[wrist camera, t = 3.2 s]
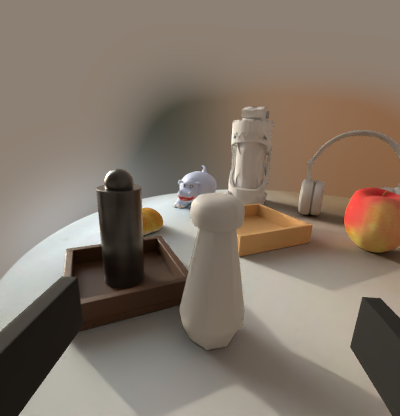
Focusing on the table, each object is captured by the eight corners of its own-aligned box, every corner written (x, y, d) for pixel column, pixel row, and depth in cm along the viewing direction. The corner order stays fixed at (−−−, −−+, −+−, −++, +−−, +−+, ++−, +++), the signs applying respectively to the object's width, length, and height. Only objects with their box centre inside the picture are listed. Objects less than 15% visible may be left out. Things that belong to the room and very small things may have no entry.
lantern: (263, 208, 63) (274, 101, 56) (223, 203, 67) (229, 102, 60) (268, 197, 75) (278, 107, 68) (234, 193, 79) (240, 108, 72)
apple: (325, 242, 44) (336, 186, 41) (359, 234, 48) (371, 183, 45) (384, 268, 36) (402, 200, 33) (419, 256, 40) (438, 195, 37)
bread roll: (171, 227, 49) (171, 207, 47) (133, 242, 42) (132, 219, 41) (142, 218, 53) (142, 200, 52) (104, 229, 46) (103, 209, 45)
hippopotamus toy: (162, 213, 57) (161, 171, 54) (185, 198, 71) (186, 164, 68) (207, 219, 54) (209, 175, 51) (222, 202, 68) (225, 167, 65)
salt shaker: (176, 358, 20) (177, 204, 17) (180, 310, 26) (182, 187, 22) (247, 359, 21) (264, 207, 17) (237, 311, 26) (248, 189, 22)
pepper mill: (102, 271, 31) (93, 166, 28) (140, 264, 33) (136, 165, 29) (106, 292, 27) (95, 172, 24) (148, 283, 29) (145, 171, 25)
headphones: (394, 222, 56) (418, 131, 50) (404, 235, 49) (433, 130, 43) (299, 208, 64) (311, 129, 59) (295, 217, 57) (308, 128, 52)
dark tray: (68, 268, 33) (66, 248, 32) (161, 252, 38) (160, 235, 38) (63, 335, 22) (59, 309, 22) (193, 301, 27) (194, 278, 27)
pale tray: (198, 225, 50) (199, 209, 50) (257, 217, 56) (259, 203, 55) (238, 256, 38) (240, 236, 37) (309, 242, 44) (312, 224, 43)
